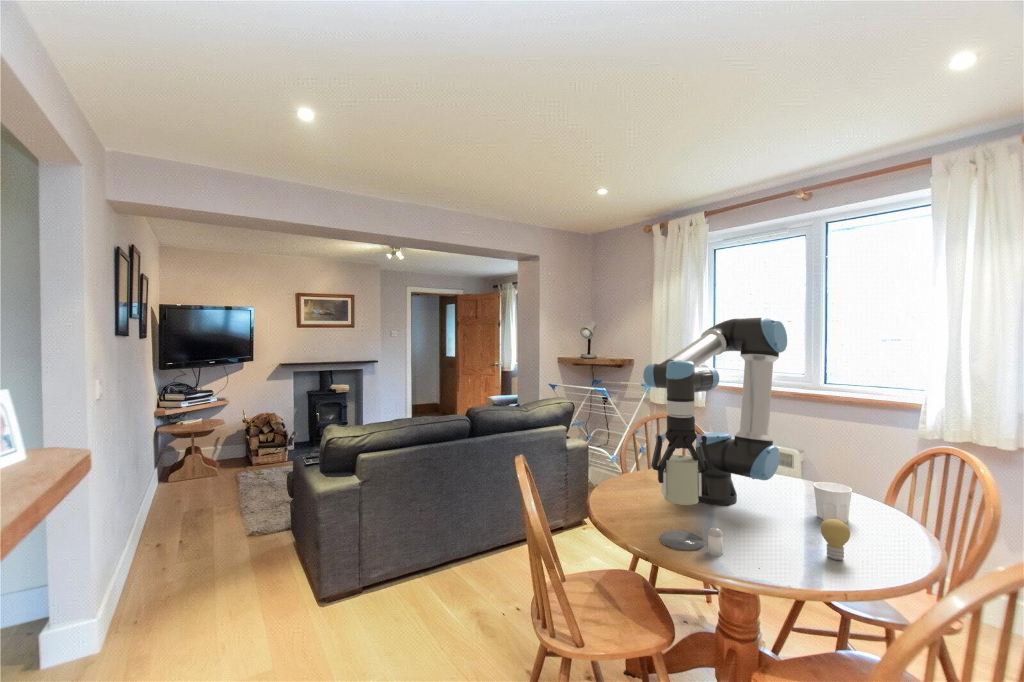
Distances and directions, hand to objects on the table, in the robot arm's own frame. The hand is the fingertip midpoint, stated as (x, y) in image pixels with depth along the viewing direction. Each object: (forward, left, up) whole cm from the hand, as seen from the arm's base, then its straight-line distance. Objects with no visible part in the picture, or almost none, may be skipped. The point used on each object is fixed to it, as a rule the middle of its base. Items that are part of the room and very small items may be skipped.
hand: (681, 494), depth 135 cm
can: (0, 0, -2) cm, 2 cm away
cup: (-52, -20, -14) cm, 57 cm away
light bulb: (-37, +8, -14) cm, 40 cm away
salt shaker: (-7, +7, -13) cm, 17 cm away
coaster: (0, 0, -13) cm, 13 cm away
